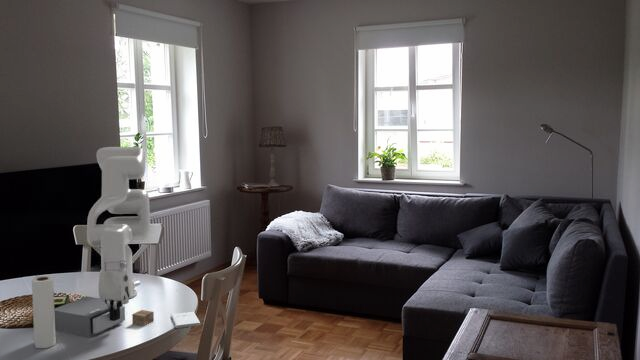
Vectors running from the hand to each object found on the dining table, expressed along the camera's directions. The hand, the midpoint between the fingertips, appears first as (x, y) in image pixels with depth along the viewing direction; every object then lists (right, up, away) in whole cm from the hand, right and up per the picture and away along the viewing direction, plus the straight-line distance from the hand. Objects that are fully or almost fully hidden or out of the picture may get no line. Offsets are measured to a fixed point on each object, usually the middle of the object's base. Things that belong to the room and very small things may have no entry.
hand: (114, 319), depth 197 cm
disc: (-9, -2, +4) cm, 10 cm away
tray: (-10, -2, +4) cm, 11 cm away
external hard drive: (+21, -4, +11) cm, 24 cm away
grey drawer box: (-11, -3, +5) cm, 12 cm away
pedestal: (+7, -3, +8) cm, 11 cm away
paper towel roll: (-18, -5, -12) cm, 22 cm away
